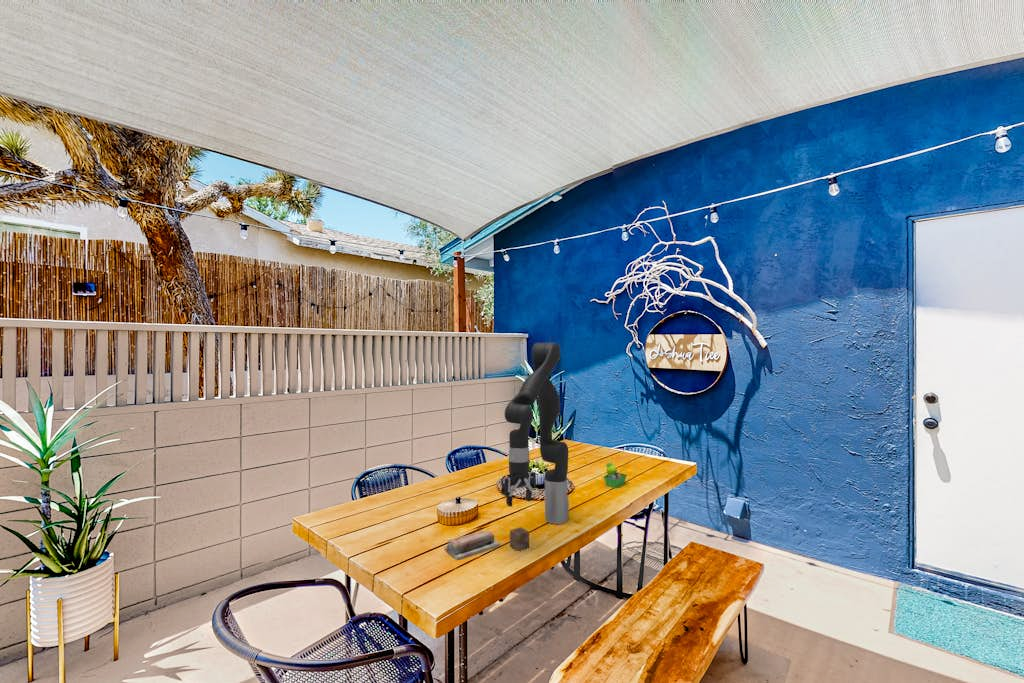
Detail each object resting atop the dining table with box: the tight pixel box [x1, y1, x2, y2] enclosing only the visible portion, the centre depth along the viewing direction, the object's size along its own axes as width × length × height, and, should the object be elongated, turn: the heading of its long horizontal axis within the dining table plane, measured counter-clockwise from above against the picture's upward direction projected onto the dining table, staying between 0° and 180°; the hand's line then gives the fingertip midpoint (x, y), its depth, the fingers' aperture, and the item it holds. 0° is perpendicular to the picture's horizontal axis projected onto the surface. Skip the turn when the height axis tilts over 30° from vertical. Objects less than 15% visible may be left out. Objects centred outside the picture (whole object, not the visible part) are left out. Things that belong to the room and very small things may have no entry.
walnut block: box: [509, 526, 530, 552], centre depth 157 cm, size 5×5×6 cm
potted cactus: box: [603, 462, 628, 489], centre depth 226 cm, size 11×9×11 cm
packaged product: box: [444, 530, 501, 561], centre depth 157 cm, size 18×5×10 cm
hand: (519, 503), depth 157 cm, fingers open, 8 cm apart
